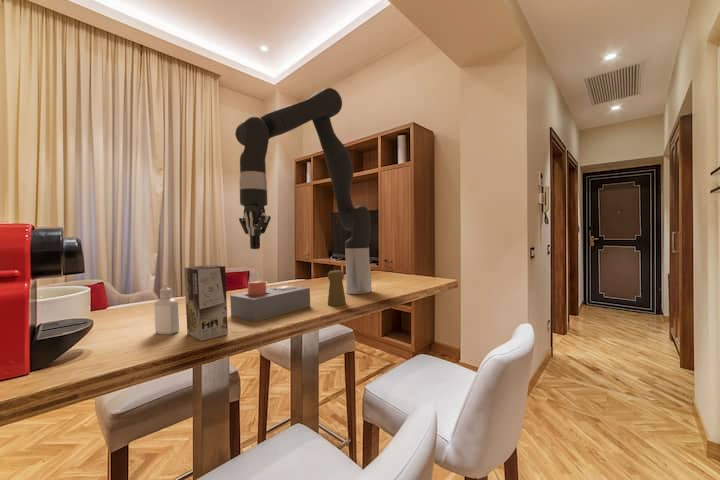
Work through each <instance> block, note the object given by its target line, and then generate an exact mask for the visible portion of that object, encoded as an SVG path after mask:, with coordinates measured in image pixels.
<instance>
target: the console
mask: <svg viewBox="0 0 720 480" xmlns="http://www.w3.org/2000/svg"><path fill="white" fill-rule="evenodd" d="M281 286H291V285H289V284H288V285H287V284H284V285H278V286H273V287H266V295H262V296H257V297H251V296H248V291H246V292H241V293H236V294H235V293H234V294H231V295H229V299H230V302H229V303H230V316H231V317H234V318H238V319H242V320H246V321H249V322H253V323H256V322H261V321H263V320H267V319H271V318H274V317H279V316H282V315H285V314H289V313H292V312H296V311H300V310H303V309H306V308H310V307H311V288H310V287H306V286H305V287H304V286H299V285H292V286H293V289H291V290H286V291H279V290H277V287H281Z"/></svg>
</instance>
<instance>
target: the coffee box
mask: <svg viewBox="0 0 720 480" xmlns="http://www.w3.org/2000/svg"><path fill="white" fill-rule="evenodd" d="M183 272H184V273H183V274H184V277H183V278H184V295H185V296H184V297H185V312H186V313H185V314H186V329H187V331H186V332H187V335H189V336H191V337H192V338H194V339H196V340H198V341H200V342H203V341H207V340H212V339H215V338H219V337H222V336H227V335H228V334H229V330H228V329H229V328H228V327H229V326H228V303H227V302H228V301H227V300H228V299H227V298H228V297H227V278H226V277H227V274H226V273H227V272H226V266H223V265H214V264H213V265H212V264H209V265H207V264H206V265H197V266H192V267H184V268H183Z"/></svg>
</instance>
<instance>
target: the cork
mask: <svg viewBox="0 0 720 480" xmlns="http://www.w3.org/2000/svg"><path fill="white" fill-rule="evenodd" d="M344 277H345V275H344V271H342V270H339V269H337V270H335V269H334V270H330V271H329V272H328V273H327V278H328V279H327V280H329V287H328V296H327V297H328V298H327V306H329V307H342V306H345V305H347V302H346V296H345V288H344V284H343V280H344Z"/></svg>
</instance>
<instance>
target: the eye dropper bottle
mask: <svg viewBox="0 0 720 480" xmlns="http://www.w3.org/2000/svg"><path fill="white" fill-rule="evenodd" d="M172 296H173V295H172V288H171V287H169V286H168V283H163V285H162V288H160V289H159V299H157V300H156V301H155V302H154V304H153V305H154V308H153V309H154V312H153V313H154V328H155V329H154V330H155V334H157V335H173V334H176V333H178V332H180V321H179V320H180V318H179V303H178V301H177V300H176V299H175V298H172Z"/></svg>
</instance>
